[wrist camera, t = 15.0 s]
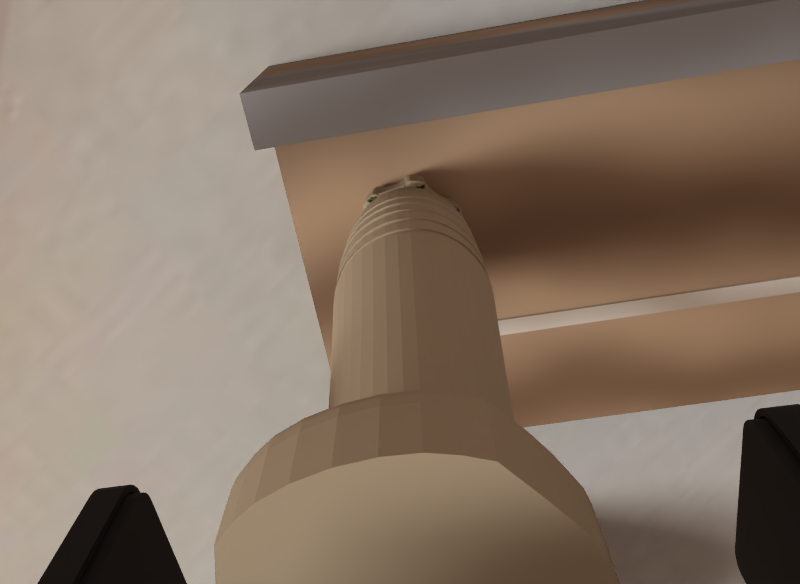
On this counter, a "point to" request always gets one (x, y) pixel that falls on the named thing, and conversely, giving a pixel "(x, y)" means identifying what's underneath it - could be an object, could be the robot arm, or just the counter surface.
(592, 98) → the board
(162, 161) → the counter surface
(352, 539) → the handle
